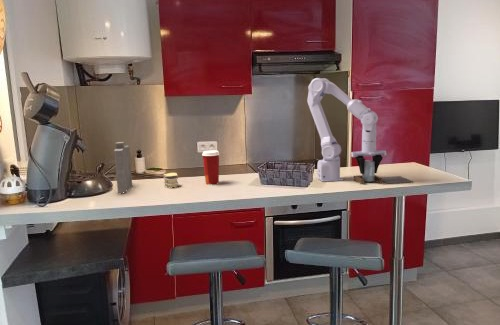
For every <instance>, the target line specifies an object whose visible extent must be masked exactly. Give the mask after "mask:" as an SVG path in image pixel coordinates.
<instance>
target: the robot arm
mask: <svg viewBox="0 0 500 325" xmlns="http://www.w3.org/2000/svg"><path fill="white" fill-rule="evenodd" d="M326 94H327V95H332V96H333V97H335V98H336V99H338V101H340V102H342V103H343V104H344V105H345V106H346V107H347V108H346V109H347V111H348V112H349V113H351V114H352V115H353V116H354V117H355V118H357V119H358V120H360V123H361V125H362V130H361V150H359V151H351V153H350V154H351V155H350V157H351V158H354V159H355V160H356V162H357V165H358V168H359V169H358V170H359V172H360V174H361V175H362V174H364V163H365V160H366V158H365V157H371V158H372V161H375V174H377V173H378V169H379V166H380V164H381V162H382V161H383V157H384V156H387V151H386V150H377V132H378V131H377V123H378V121H379V117H378V114H377V113H376V111H373V110H372V109H371V108H370V107H369V108H368V107H367V106H366V105H364V103H363V101H362V100H360V99H357V98H356V99H352V97H350V96H348V94H347V93H345V92H344V91H343V90H342V89H341V88H340V87H338V86H337V85H336V84H335V83H334V82H332V81H330V80H329V79H328V78H324V77H323V78H322V77H321V78H320V77H316V78H313V79H312V80H311V81H310V83H309V84H308V94H307V101H306V102H307V104H308V108H309V110H310V113H311V115H312V118H313V120H314V125H315V127H316V130H317V132H318V135H319V139H320V146H321V155H322V159H319V160H318V161H317V164H316V168H317V174H316V175H317V177H316V179H318V180H320V181H321V182H336V181H340V182H341V181H344V179H343V178H342V177H341V157H340V155H341V154H342V147H341V144H339V143H338V141H337V139H336V138H335V136H333V133H332V131H331V128H330V125H329V122H328V119H327V117H326V113H325V111H324V109H323V106H322V103H321V101H322V100H323V98H324V96H325V95H326Z"/></svg>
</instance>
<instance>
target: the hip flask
mask: <svg viewBox="0 0 500 325" xmlns="http://www.w3.org/2000/svg"><path fill="white" fill-rule="evenodd" d="M114 144H115V147H116V148H114V150H113V151H114V162H115V164H114V165H115V174H116V187H117V194H118V193H123V192H126V193H127V191H126V190H128V189H130V188H131V187H133V178H132V165H131V157H130V156H131V154H130V146H129V145H125V141H119V142H118V141H117V142H115V143H114Z"/></svg>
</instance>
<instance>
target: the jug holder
mask: <svg viewBox="0 0 500 325" xmlns="http://www.w3.org/2000/svg"><path fill="white" fill-rule="evenodd" d="M380 177H381V176H378V175H376V174H375V178H374V181H373V182H375V183H378V184H383V181H382V178H380ZM353 181H354V182H356V183H357V184H359V185H364V182H365V181H364V179H362V174H361V175H353Z"/></svg>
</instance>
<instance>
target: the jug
mask: <svg viewBox="0 0 500 325" xmlns="http://www.w3.org/2000/svg"><path fill="white" fill-rule="evenodd" d="M361 175H362V179H364V182H375V181H374V178H375V175H376V173H375V161H373V160H368V159H367V160H366V159H365V163H364V174H361Z"/></svg>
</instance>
